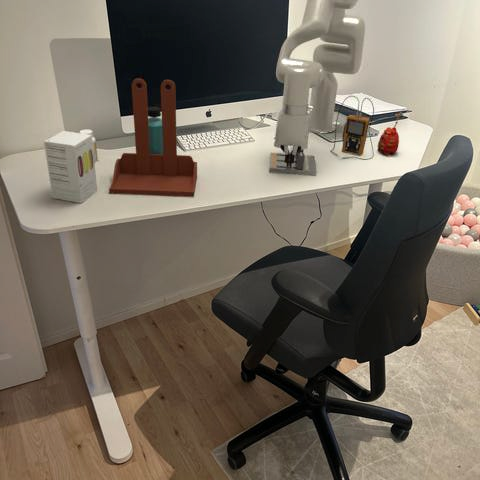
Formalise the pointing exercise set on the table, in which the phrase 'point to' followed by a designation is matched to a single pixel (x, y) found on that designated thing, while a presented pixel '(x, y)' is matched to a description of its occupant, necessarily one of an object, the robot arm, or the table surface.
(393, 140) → the red clay folk toy
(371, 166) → the table surface
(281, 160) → the panel
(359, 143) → the multimeter
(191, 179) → the hanging shelf
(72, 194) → the supplement box
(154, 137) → the beverage bottle
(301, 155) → the breaker near
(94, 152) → the supplement bottle
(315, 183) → the table surface
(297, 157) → the breaker mid
